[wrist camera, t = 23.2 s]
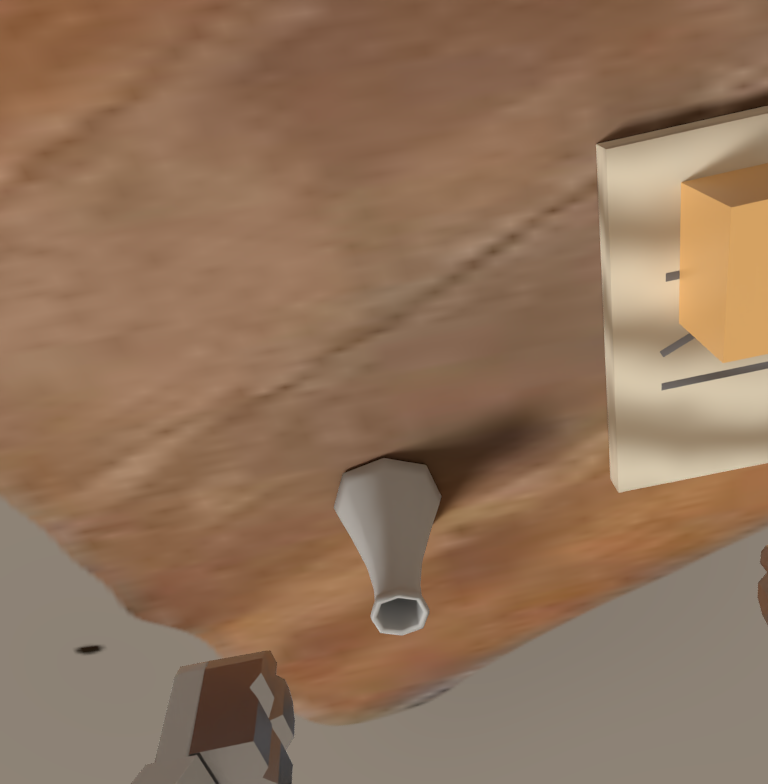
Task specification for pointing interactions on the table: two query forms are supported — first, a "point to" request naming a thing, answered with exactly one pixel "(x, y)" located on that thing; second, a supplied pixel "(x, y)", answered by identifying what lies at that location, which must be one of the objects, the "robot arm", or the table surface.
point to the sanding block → (725, 262)
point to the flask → (391, 535)
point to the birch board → (671, 311)
